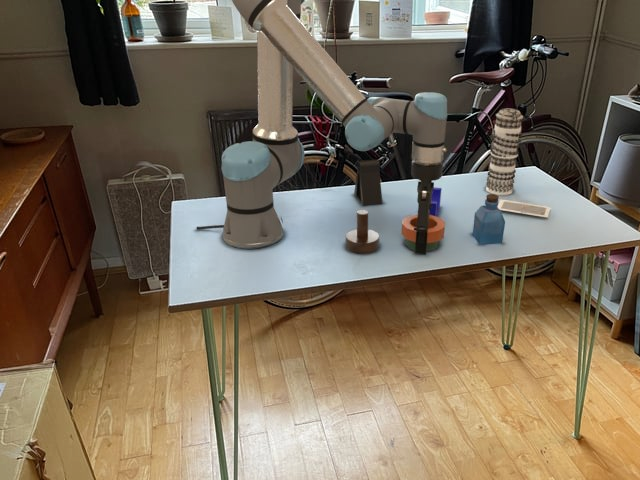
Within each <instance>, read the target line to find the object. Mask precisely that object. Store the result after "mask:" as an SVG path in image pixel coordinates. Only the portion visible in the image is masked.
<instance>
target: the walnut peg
mask: <svg viewBox="0 0 640 480" xmlns="http://www.w3.org/2000/svg"><path fill="white" fill-rule="evenodd" d="M345 248H346V250H347V251H349V252H351V253H353V254H359V255H368V254H372V253H375V252H377V250H379V248H380V234H379V233H378V232H377V231H375V230H373V229H370V228H369V211H368V210H365V209H360V210H357V211H356V229H352V230H350V231H348V232H347V233H346V234H345Z"/></svg>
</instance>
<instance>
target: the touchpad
mask: <svg viewBox="0 0 640 480" xmlns="http://www.w3.org/2000/svg"><path fill="white" fill-rule="evenodd" d="M498 201H499V204H498V206H497V207H498V208H499V209H500V211H505V212H512V213H517V214H523V215H530V216H536V217H542V218H549V215H550V211H551V208H552V207H550V206H545V205H538V204H533V203H527V202H520V201H514V200H507V199H501V198H500V199H499V200H498Z"/></svg>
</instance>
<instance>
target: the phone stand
mask: <svg viewBox="0 0 640 480" xmlns="http://www.w3.org/2000/svg"><path fill="white" fill-rule="evenodd" d="M380 163H381V162H380V160H379V159H378V158H377V159H367V160H365V159H364V160H358V161H357V163H356V168H357V169H356V177H355V185H354V192H353V195H354V197H355V198H356V199H357V200H358V201H359V203H360V204H361V205H362V206H371V205H379V204H383V194H382V184H381V183H382V182H381V173H380V172H381V171H380V169H381V168H380V167H381V166H380V165H381V164H380Z"/></svg>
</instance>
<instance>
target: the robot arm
mask: <svg viewBox="0 0 640 480" xmlns="http://www.w3.org/2000/svg"><path fill="white" fill-rule="evenodd" d="M305 1H306V0H231V2H232V4H233V6H234V7H235V8H236V10H237V12H238V13H239V15H240V16H241V17H242V18H243V20H244V21H245V22H246V23H247V24H248V26H250V28H251V29H252V30H253V31H254V32H256V35H257V36H256V40H257V41H256V44H257V45H256V46H257V47H256V48H257V50H256V51H257V103H258V104H257V111H258V115H257V119H258V121H257V122H258V123H257V125H256V126H255V127H254V128H253V129H252V140H251V141H249V140H248V141H242V142H241V143H239V142H238V143H237V142H236V143H234V144H232V145H230V146H228V147H227V148H226V149H225V150H224V151H223V152H222V154H221V166H220V167H221V173H222V179H223V186H224V187H223V188H224V194H225V202H226V214H225V219H224V224H218V225H217V224H216V225H215V224H214V225H205V226H203V225H202V226H196V230H209V229H211V230H212V229H222V237H223V241H224V242H225V244H227V245H229V246H231V247H234V248H238V249H247V250H248V249H249V250H250V249H251V250H252V249H261V248H266V247H269V246H272V245H275V244H276V243H278V242H279V241H280V240H282V238H283V236H284V230H283V224H284V222H283V221H284V220H283V217H282V216H280V217H279V216H278V214H277V211H276V208H275V204H274V191H273V189H274V188H276V187H277V186H279V185H280V184H282V183H283V182H285V181H286V180H288V179H290V178H292V177H293V176H294V175H296V173H297V172H299V170H300V169H301V168H302V166H303V164H304V162H305V154H306V153H305V148H304V145H303V143H301V141H300V138H299V132H298V130H297V129H296V128H295V126H293V107H294V105H293V104H294V101H293V100H294V71H296V73H297V74H298V75H299V76H300V77H301V78H302V80H304V82H305V83H306V85H308V86H309V87H310V89H311V90H312V91H313V92H314V93H315V95H317V97H318V98H319V99H320V100H321V101H322V103H324V105H325V106H326V107H327V108H328V109H329V110H330V111H331V113H332V114H333V115H334V116H335V117H336V118H337V120H339V121H340V123H341V124H342V125H343V127H344V128H345V130H344V135H345V139H346V142H347V144H348V145H349V146H350V147H351V148H353V149H355V150H356V151H360V152H367V151H370V150H372V149H374V148H376V147H378V146H380V145H381V144H382V142H383V141H384V140H386V139H387V138H389V137H390V136H391V135H393V133H394V134H395V133H396V134H403V135H412V145H411V160H412V161H411V167H410V176H411V177H412V178H413V179H415V180H418V181H417V188H416V191H417V199H416V201H417V207H418V208H417V214H418V218H417V227H416V228H414V231H416V245H415V250H414V254H421V255H426V254H427V251H426V245H427V231H428V228H427V223H428V211H429V209H433V205H430V204H431V200H432V193H433V189H434V187H435V182H433V181H438V180H440V179H441V178H442V176H443V168H444V163H443V160H444V153H447V151H448V150H447V148H446V147H445V140H446V139H445V138H446V129H447V120H448V98H447V97H446V96H445V95H444V94H441V93H439V92H434V91H433V92H431V91H429V92H424V91H423V92H419V93H417V94H416V95H415V96H414V100H405V99H397V98H389V97H384V96H380V97H379V96H377V97H376V96H370V97H369V98H366V96H365V95H364V94H363V93H362V92H361V90H360V89H359V88H358V87H357V86H356V85H355V84H354V82H353V81H352V80H351V79H350V77H348V75H347V74H346V73H345V72H344V71H343V70H342V68H341V67H340V66H339V64H337V62H336V61H335V60H334V59H333V58H332V57H331V56H330V54H329V53H328V52H327V51H326V50H325V48H323V46H322V45H321V44H320V43H319V41H317V39H316V38H315V37H314V36H313V34H312V33H311V32H310V31H309V29H308V28H307V27H306V26H305V25H304V24H303V23H302V21H301V16H302V15H301V14H302V5H303V3H304V2H305ZM429 215H430V213H429Z"/></svg>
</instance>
